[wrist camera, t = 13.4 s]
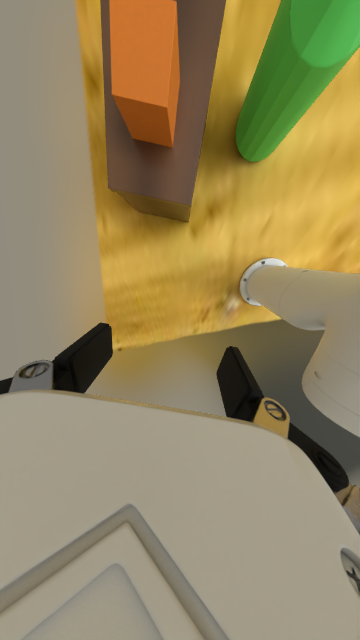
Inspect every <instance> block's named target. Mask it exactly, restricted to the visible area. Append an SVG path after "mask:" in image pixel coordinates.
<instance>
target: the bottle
mask: <svg viewBox="0 0 360 640" xmlns="http://www.w3.org/2000/svg"><path fill="white" fill-rule="evenodd" d="M359 47H360V0H281V3H280V6H279V8H278V11H277V14H276V16H275V19H274V22H273V25H272V27H271V30H270V33H269V35H268V38H267V41H266V44H265V46H264V49H263V52H262V54H261V57H260V60H259V63H258V65H257V68H256V71H255V74H254V76H253V79H252V82H251V84H250V87H249V90H248V93H247V95H246V98H245V101H244V104H243V106H242V109H241V112H240V115H239V118H238V122H237V126H236V143H237V147H238V150H239V152H240V153H241V155H242V156H243V158H245V159H247V160H248V161H260V160H262V159H264V158H266V157H267V156H268V155H270V154H271V153H272V152H273V151H274V150H275V149H276V147H277V146H278V145H279V144H280V142H281V141H282V140H283V139H284V138H285V136H286V135H287V134H288V133H289V132H290V130H291V129H292V128H293V127H294V126H295V124H296V123H297V122H298V121H299V120H300V118H301V117H302V116H303V115H304V114H305V112H306V111H307V110H308V109H309V108H310V106H311V105H312V104H313V103H314V101H315V100H316V99H317V98H318V97H319V95H320V94H321V93H322V92H323V91H324V89H325V88H326V87H327V86H328V84H329V83H330V82H331V81H332V80H333V78H334V77H335V76H336V75H337V74H338V72H339V71H340V70H341V69H342V68H343V66H344V65H345V64H346V63H347V61H348V60H349V59H350V58H351V57H352V55H353V54H354V53H355V52H356V51H357V49H358V48H359Z"/></svg>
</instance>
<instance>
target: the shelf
mask: <svg viewBox="0 0 360 640" xmlns="http://www.w3.org/2000/svg"><path fill="white" fill-rule="evenodd" d="M173 1H176V2H177V24H178V47H179V70H180V85H179V94H178V104H177V113H176V122H175V131H174V141H173V148H172V147H168V146H163V145H159V144H155V143H150V142H146V141H142V140H137V139H133V138H132V136H131V134H130V132H129V130H128V128H127V126H126V123H125V121H124V119H123V117H122V115H121V113H120V111H119V109H118V106H117V104H116V102H115V100H114V98H113V96H112V82H111V43H110V5H109V0H100V2H101V26H102V50H103V74H104V98H105V122H106V146H107V170H108V188H109V189H110V190H111V191H114V192H117V193H118V194H119V195H120V196H121V197H123V198H124V199H125V200H126V201H127V202H128V203H129V204H130V205H132V206H133V207H134V208H135V209H136V210H137V211H138V212H141V213H146V214H151V215H155V216H160V217H165V218H170V219H174V220H179V221H184V222H189V217H190V208H191V204H192V198H193V192H194V186H195V180H196V174H197V169H198V163H199V157H200V151H201V145H202V139H203V134H204V130H205V125H206V119H207V111H208V104H209V99H210V93H211V87H212V81H213V75H214V69H215V64H216V58H217V52H218V46H219V40H220V34H221V29H222V23H223V17H224V10H225V4H226V0H173Z"/></svg>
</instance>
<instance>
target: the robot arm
mask: <svg viewBox="0 0 360 640" xmlns="http://www.w3.org/2000/svg"><path fill="white" fill-rule="evenodd" d="M261 262H262V264H261ZM244 279H245V280H244ZM239 289H240V294H241V296H242V297H243V299H244V300H245V301H246V302H248V303H249V304H252V305H255V306H264V307H266V308H267V309H269V310H270V311H272V312H273V313H275V314H276V315H278V316H279V317H281V318H282V319H284V320H285V321H287V322H288V323H290V324H292V325H293V326H296V327H298V328H301V329H306V330H325V333H324V335H323V337H322V339H321V340H320V343H319V346H318V347H317V349H316V351H315V353H314V355H313V356H312V358H311V360H310V362H309V364H308V366H307V368H306V370H305V372H304V374H303V377H302V388H303V391H304V393H305V395H306V396H307V398H308V399H309V400H310V402H311V403H312V404H313V405H314V406H315V407H316V408H318V410H319V411H320V412H322V413H323V414H324V415H325V416H327V417H328V418H329V419H331V420H332V421H334V422H335V423H337V424H338V425H340V426H341V427H343V428H345V429H346V430H348V431H350V432H351V433H353V434H355V435H357V436H358V437H360V274H355V273H341V272H331V271H321V270H312V269H303V268H294V267H288V266H287V265H286V264H285V263H284V262H283V261H281V260H279V259H276V258H265V259H261V260H259V261H257V262H255V263H253V264H252V265H251V266H250V267H248V269H247V270H246V271H245V272H244V274H243V275H242V278H241V280H240V288H239ZM247 297H248V298H247ZM246 298H247V299H246ZM112 354H113V349H112V330H111V326H109V324H106V323H99V324H98V325H97V326H95V327H94V328H93V329H91V330H90V331H89V332H87V333H86V334H85V335H84V336H82V337H81V338H80V339H78V340H77V341H76V342H74V343H73V344H72V345H71V346H69V347H68V348H67V349H65V350H64V351H63V352H61V353H60V354H59V355H58V356H56V357H55V359H54V360H53V361H52V362H51V361H48V360H39V361H34V362H31V363H29V364H26V365H24V366H23V367H21V368H20V369H18V371H16V373H15V375H14V377H12V378H9V379H5V380H1V381H0V640H360V488H358V487H357V485H354V486H352V485H351V484H350V482H349V480H348V476H347V475H346V472H345V471H344V469H343V468H342V466H341V465H340V464H339V462H338V461H337V460H336V459H335V458H334V457H333V456H332V455H331V454H330V453H328V452H327V451H326V450H325V449H323V448H322V447H321V446H320V445H318V444H317V443H316V442H314V441H313V440H312V439H311V438H309V437H308V436H307V435H305V434H304V433H303V432H302V431H300V430H299V429H298V428H296V427H295V426H294V425H293V424H291V423H290V418H289V415H288V413H287V411H286V410H285V409H284V408H283V406H282V405H280V404H279V403H278V402H277V401H275V400H273V399H270V398H264V396H263V394H262V391H261V390H260V388H259V386H258V384H257V382H256V380H255V378H254V377H253V375H252V373H251V371H250V369H249V367H248V366H247V364H246V362H245V360H244V358H243V356H242V355H241V353H240V351H239V349H238V348H237V347H232V346H230V347H229V348H226V351H225V353H224V356H223V358H222V360H221V363H220V365H219V368H218V370H217V379H218V383H219V387H220V391H221V396H222V400H223V404H224V408H225V412H226V416H227V417H223V416H218V415H212V414H207V413H201V412H195V411H189V410H183V409H177V408H171V407H165V406H159V405H152V404H147V403H141V402H134V401H128V400H122V399H115V398H109V397H103V396H97V395H89V394H84V393H85V392H86V390H87V389H88V388H89V386H90V385H91V384H92V382H93V381H94V380H95V378H96V377H97V376H98V374H99V373H100V372H101V370H102V369H103V368H104V366H105V365H106V364H107V362H108V361H109V360H110V358H111V357H112Z"/></svg>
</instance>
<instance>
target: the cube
mask: <svg viewBox="0 0 360 640" xmlns="http://www.w3.org/2000/svg"><path fill="white" fill-rule="evenodd" d="M109 5H110V43H111V82H112V96H113V98H114V100H115V102H116V104H117V106H118V109H119V111H120V113H121V115H122V117H123V119H124V121H125V123H126V126H127V128H128V130H129V132H130V134H131V136H132V138H133V139H137V140H142V141H146V142H150V143H155V144H159V145H163V146H168V147H172V148H173V141H174V131H175V122H176V113H177V104H178V94H179V85H180V70H179V47H178V24H177V2H176V1H173V0H109Z"/></svg>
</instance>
